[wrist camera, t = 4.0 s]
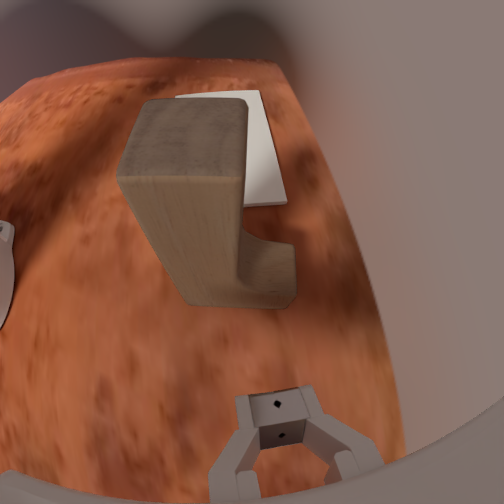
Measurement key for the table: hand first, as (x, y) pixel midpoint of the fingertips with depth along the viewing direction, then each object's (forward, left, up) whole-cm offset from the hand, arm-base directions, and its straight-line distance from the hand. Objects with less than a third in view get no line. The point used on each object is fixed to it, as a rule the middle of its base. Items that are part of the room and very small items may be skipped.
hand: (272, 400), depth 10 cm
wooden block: (-5, +8, -14) cm, 16 cm away
